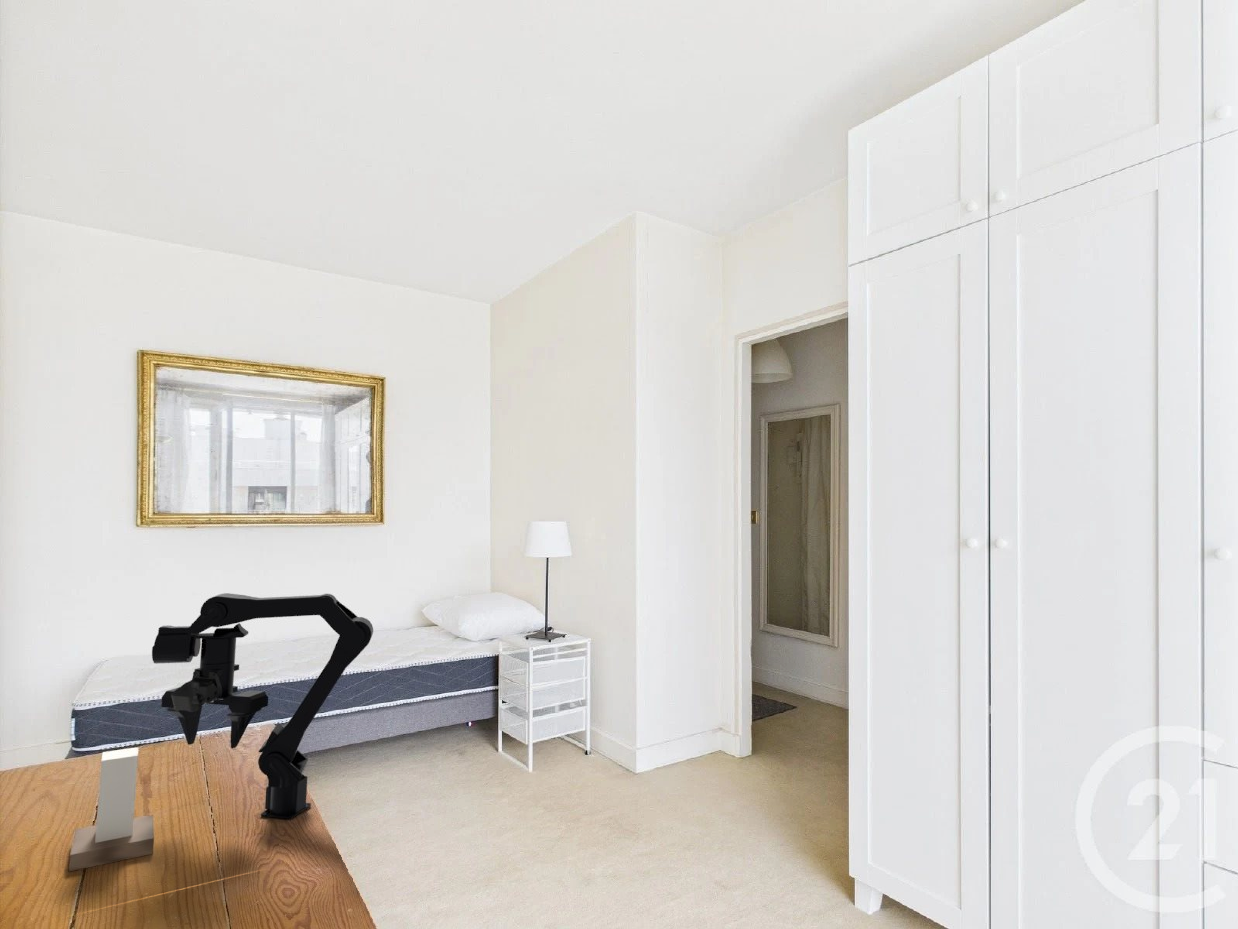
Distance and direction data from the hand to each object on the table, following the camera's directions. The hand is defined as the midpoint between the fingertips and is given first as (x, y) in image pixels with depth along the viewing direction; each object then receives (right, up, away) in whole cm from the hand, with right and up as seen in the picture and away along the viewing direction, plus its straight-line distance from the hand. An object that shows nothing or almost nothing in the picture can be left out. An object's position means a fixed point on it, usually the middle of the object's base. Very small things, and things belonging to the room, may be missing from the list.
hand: (212, 746), depth 130 cm
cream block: (-9, -9, -14) cm, 18 cm away
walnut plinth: (-9, -12, -14) cm, 20 cm away
